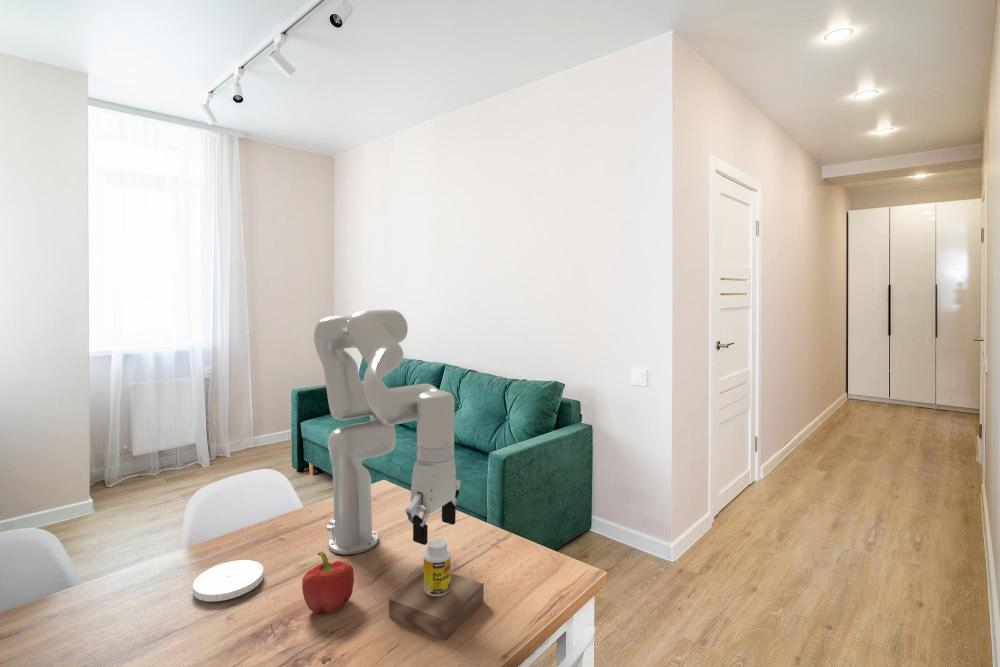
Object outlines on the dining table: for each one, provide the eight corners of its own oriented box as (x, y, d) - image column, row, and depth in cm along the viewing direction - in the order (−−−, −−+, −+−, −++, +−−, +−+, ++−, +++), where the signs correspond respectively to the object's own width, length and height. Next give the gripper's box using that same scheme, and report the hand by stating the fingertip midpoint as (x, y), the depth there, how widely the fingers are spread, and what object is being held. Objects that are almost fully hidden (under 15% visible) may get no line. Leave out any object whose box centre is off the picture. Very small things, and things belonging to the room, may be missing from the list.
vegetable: (295, 601, 108) (294, 556, 108) (343, 584, 115) (342, 542, 114) (311, 628, 100) (310, 579, 99) (362, 608, 106) (361, 562, 105)
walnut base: (389, 617, 103) (388, 598, 103) (430, 583, 115) (430, 566, 115) (445, 640, 96) (445, 620, 96) (483, 601, 108) (483, 583, 108)
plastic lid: (231, 565, 123) (231, 555, 123) (277, 576, 119) (277, 566, 118) (178, 598, 110) (177, 587, 110) (226, 611, 105) (226, 600, 105)
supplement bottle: (430, 601, 102) (430, 552, 101) (419, 587, 106) (418, 540, 106) (455, 592, 105) (455, 544, 104) (443, 579, 109) (443, 534, 109)
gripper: (445, 438, 112) (444, 512, 114) (392, 461, 97) (392, 546, 99) (473, 443, 109) (472, 520, 111) (423, 468, 94) (423, 556, 96)
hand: (434, 532), depth 105 cm, fingers open, 9 cm apart
